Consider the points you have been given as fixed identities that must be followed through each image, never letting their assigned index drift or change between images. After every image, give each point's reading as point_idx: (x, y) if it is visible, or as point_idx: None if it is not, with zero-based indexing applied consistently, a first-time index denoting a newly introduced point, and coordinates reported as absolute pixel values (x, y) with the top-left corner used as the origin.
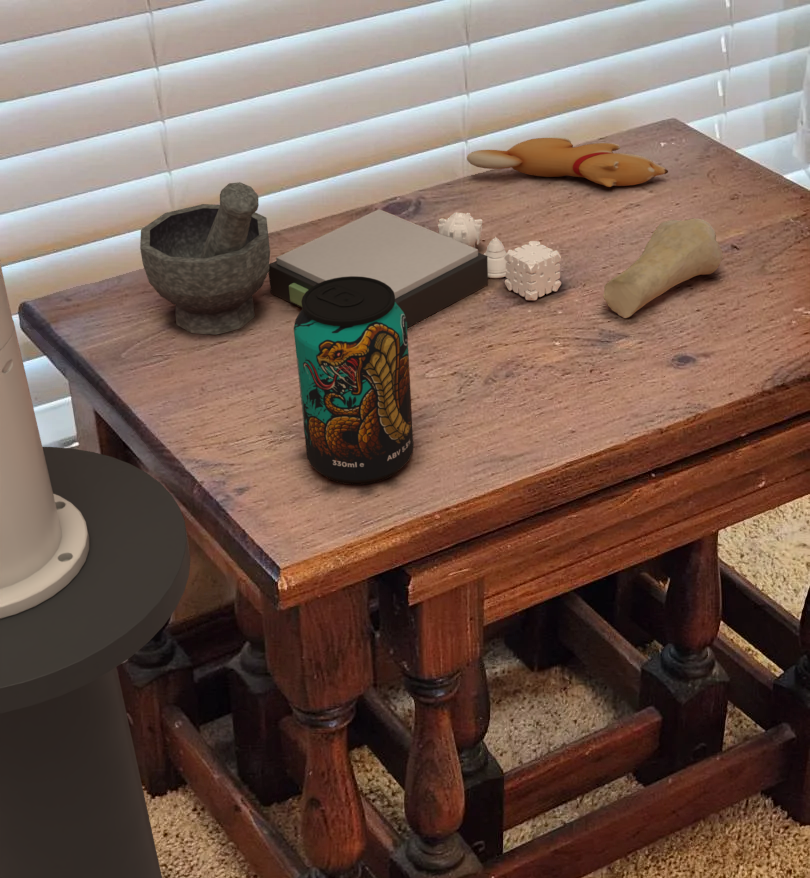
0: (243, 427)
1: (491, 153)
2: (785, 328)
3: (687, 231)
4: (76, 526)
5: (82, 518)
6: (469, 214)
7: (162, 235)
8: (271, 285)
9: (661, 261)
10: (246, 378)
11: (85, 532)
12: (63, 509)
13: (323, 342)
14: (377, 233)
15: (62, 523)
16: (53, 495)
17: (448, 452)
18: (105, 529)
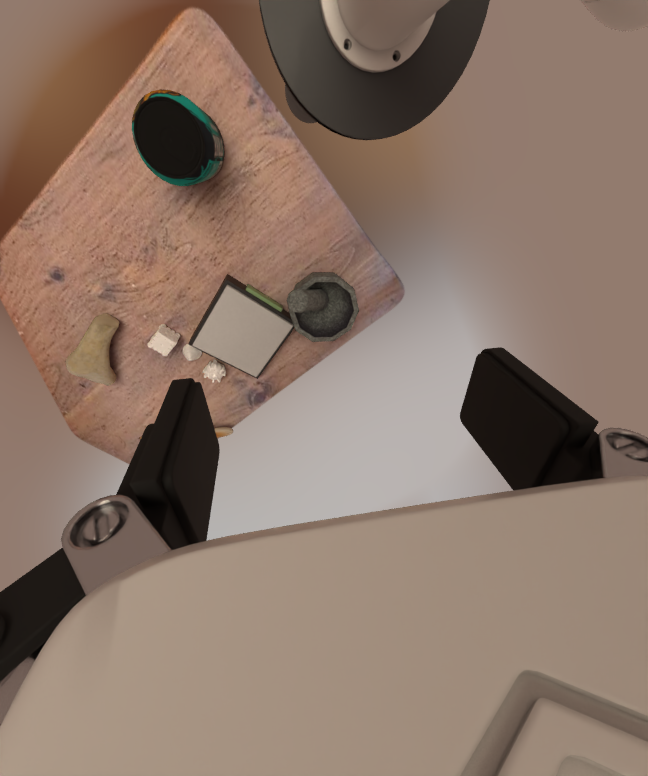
0: (271, 178)
1: (220, 433)
2: (17, 314)
3: (79, 365)
4: (330, 14)
5: (329, 27)
6: (212, 381)
7: (348, 316)
8: None
9: (88, 343)
10: (284, 232)
11: (323, 6)
12: (343, 38)
13: (176, 95)
14: (249, 354)
15: (339, 19)
16: (344, 3)
17: None
18: (316, 33)
